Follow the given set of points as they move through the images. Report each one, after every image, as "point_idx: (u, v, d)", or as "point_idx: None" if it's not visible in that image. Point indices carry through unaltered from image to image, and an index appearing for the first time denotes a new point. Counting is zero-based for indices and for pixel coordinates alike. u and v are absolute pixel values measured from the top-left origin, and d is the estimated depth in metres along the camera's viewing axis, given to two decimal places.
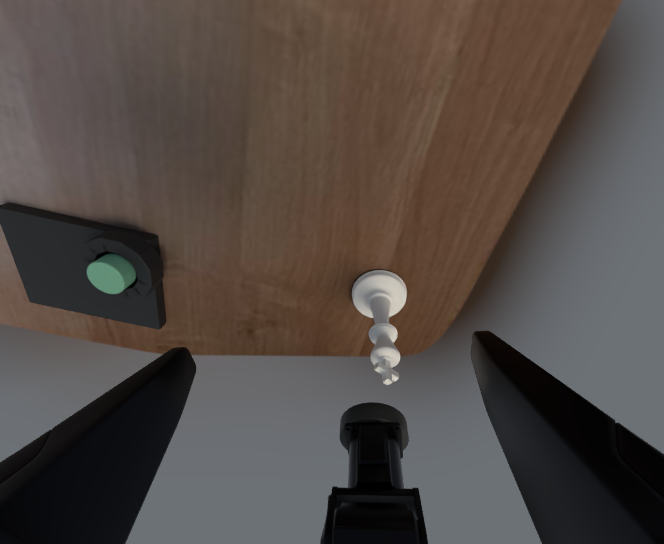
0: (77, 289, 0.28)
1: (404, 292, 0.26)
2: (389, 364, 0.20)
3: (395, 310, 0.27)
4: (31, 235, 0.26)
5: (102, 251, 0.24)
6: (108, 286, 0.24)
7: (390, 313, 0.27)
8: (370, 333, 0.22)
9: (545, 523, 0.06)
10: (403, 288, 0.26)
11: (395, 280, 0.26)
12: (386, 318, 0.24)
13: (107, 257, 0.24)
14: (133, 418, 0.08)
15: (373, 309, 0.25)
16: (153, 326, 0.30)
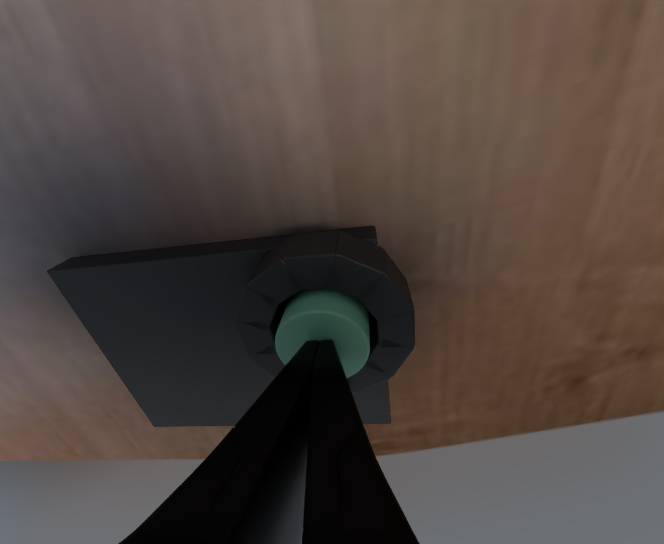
0: (228, 387, 0.14)
1: None
2: None
3: None
4: (126, 308, 0.12)
5: (289, 294, 0.09)
6: None
7: None
8: None
9: None
10: None
11: None
12: None
13: (311, 296, 0.09)
14: (302, 415, 0.07)
15: None
16: (378, 420, 0.15)
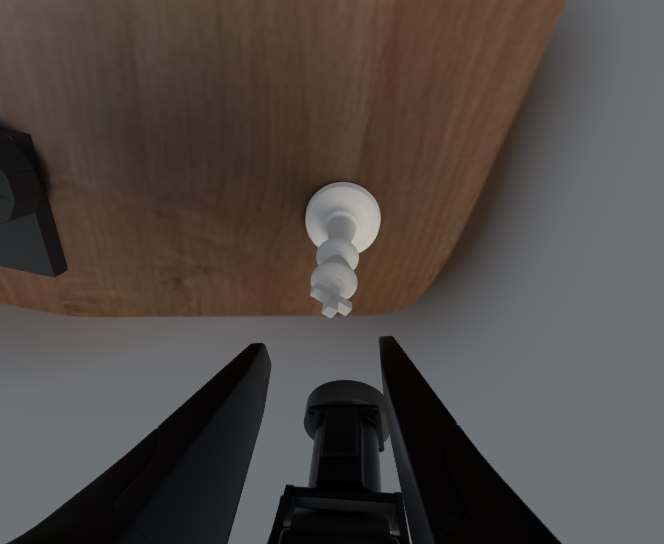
0: None
1: (376, 213, 0.19)
2: (337, 290, 0.12)
3: (365, 241, 0.19)
4: None
5: None
6: None
7: (358, 247, 0.20)
8: (317, 255, 0.15)
9: (409, 519, 0.06)
10: (374, 207, 0.18)
11: (362, 194, 0.18)
12: (345, 239, 0.16)
13: None
14: (230, 416, 0.07)
15: (329, 231, 0.17)
16: (45, 273, 0.22)
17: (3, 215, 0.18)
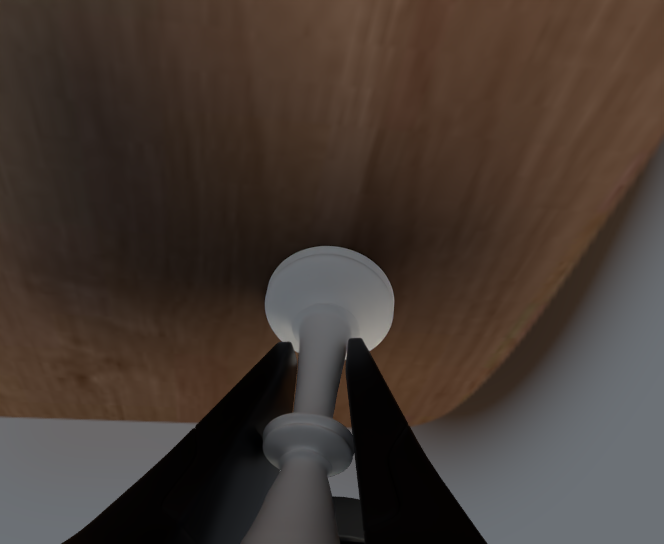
0: None
1: (388, 302, 0.10)
2: None
3: (369, 343, 0.11)
4: None
5: None
6: None
7: None
8: (264, 444, 0.07)
9: None
10: (385, 292, 0.10)
11: (363, 271, 0.10)
12: (330, 382, 0.08)
13: None
14: (265, 416, 0.07)
15: (300, 349, 0.09)
16: None
17: None
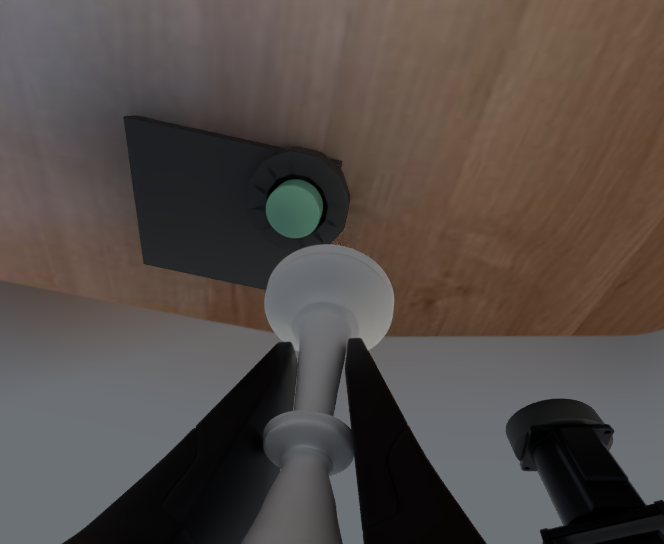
0: (214, 243, 0.21)
1: (387, 300, 0.10)
2: None
3: (368, 342, 0.11)
4: (168, 161, 0.18)
5: (286, 174, 0.16)
6: (293, 225, 0.17)
7: None
8: (265, 442, 0.07)
9: None
10: (385, 290, 0.10)
11: (363, 269, 0.10)
12: (330, 381, 0.08)
13: (295, 182, 0.16)
14: (266, 415, 0.07)
15: (300, 348, 0.09)
16: None
17: (323, 242, 0.18)
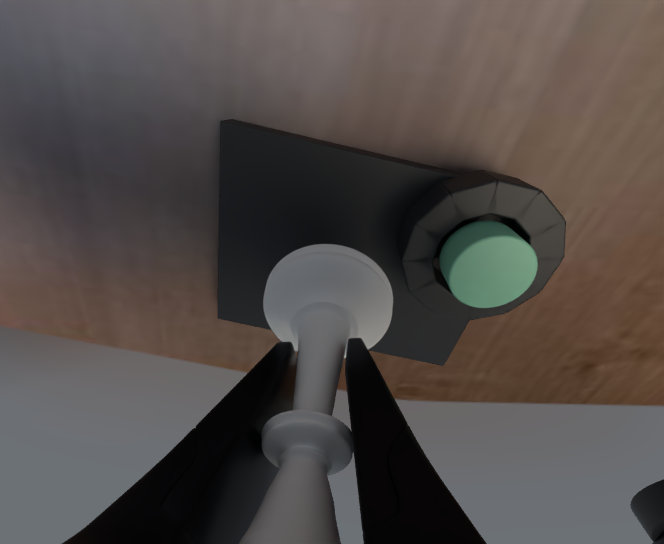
0: None
1: (386, 300, 0.10)
2: None
3: (367, 341, 0.11)
4: (278, 187, 0.13)
5: (480, 214, 0.11)
6: (486, 291, 0.11)
7: None
8: (263, 442, 0.07)
9: None
10: (384, 290, 0.10)
11: (362, 269, 0.10)
12: (328, 380, 0.08)
13: (497, 227, 0.11)
14: (266, 415, 0.07)
15: (299, 348, 0.09)
16: (435, 360, 0.17)
17: (505, 307, 0.13)
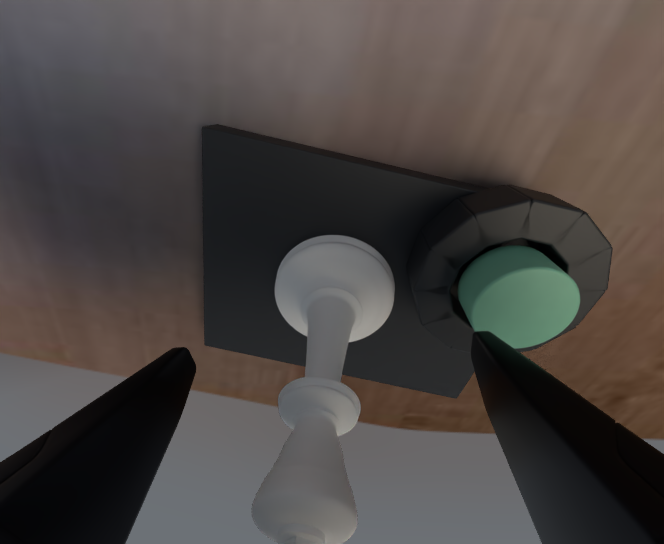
0: None
1: (389, 286, 0.11)
2: None
3: (371, 326, 0.12)
4: (270, 202, 0.11)
5: (509, 238, 0.09)
6: (516, 330, 0.09)
7: (359, 333, 0.12)
8: (280, 405, 0.08)
9: (545, 523, 0.06)
10: (386, 277, 0.11)
11: (367, 258, 0.11)
12: (336, 355, 0.09)
13: (530, 254, 0.09)
14: (133, 418, 0.08)
15: (309, 328, 0.10)
16: (447, 393, 0.15)
17: None
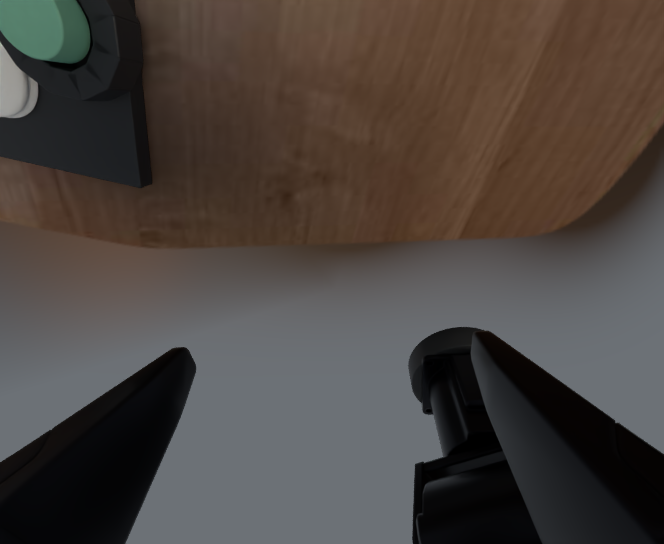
0: None
1: None
2: None
3: (10, 89, 0.15)
4: None
5: None
6: (33, 37, 0.13)
7: (5, 97, 0.16)
8: None
9: (545, 523, 0.06)
10: None
11: None
12: None
13: None
14: (133, 418, 0.08)
15: None
16: (130, 181, 0.18)
17: (101, 80, 0.14)
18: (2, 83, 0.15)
